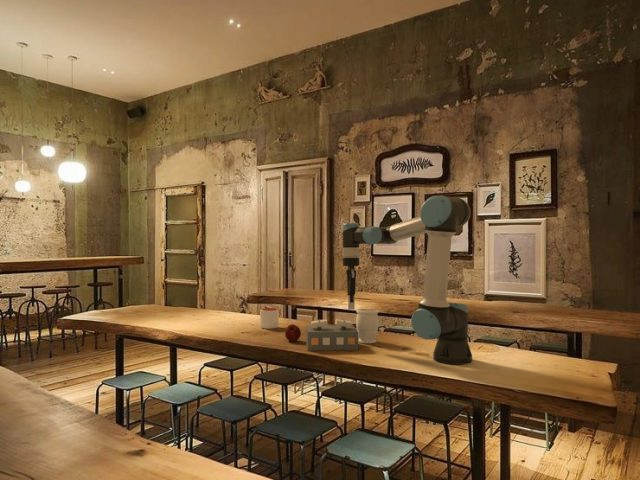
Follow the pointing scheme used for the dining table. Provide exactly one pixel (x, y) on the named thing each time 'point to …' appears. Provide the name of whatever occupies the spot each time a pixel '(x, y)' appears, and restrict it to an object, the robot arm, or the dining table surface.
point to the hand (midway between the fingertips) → (351, 309)
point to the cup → (269, 318)
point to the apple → (292, 333)
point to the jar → (367, 325)
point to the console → (331, 338)
